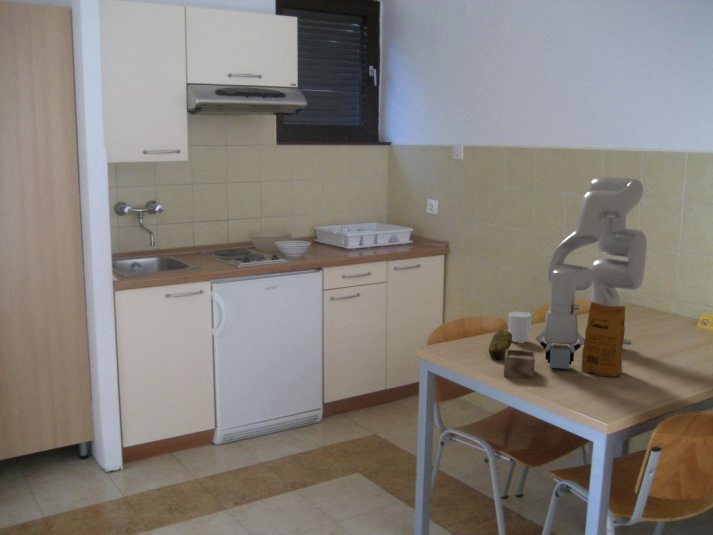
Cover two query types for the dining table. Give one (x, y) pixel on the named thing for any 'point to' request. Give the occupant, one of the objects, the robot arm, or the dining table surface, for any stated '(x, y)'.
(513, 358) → the box base
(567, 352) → the cap block
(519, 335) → the white cup
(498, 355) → the potato
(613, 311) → the coffee package
